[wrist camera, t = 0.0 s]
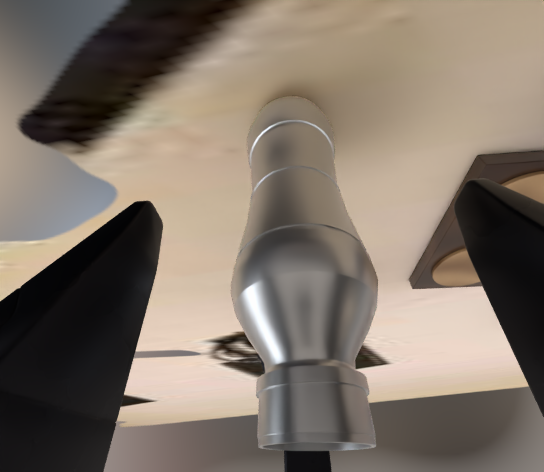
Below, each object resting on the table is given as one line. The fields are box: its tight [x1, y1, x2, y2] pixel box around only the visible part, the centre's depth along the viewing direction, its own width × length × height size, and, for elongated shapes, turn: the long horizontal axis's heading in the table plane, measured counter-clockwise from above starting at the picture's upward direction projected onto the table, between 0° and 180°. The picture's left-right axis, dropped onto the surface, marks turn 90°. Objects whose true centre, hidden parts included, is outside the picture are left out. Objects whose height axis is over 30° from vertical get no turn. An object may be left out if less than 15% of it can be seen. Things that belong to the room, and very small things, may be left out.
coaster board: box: [409, 151, 544, 289], centre depth 29 cm, size 20×20×2 cm
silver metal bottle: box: [231, 96, 378, 451], centre depth 15 cm, size 6×7×20 cm
